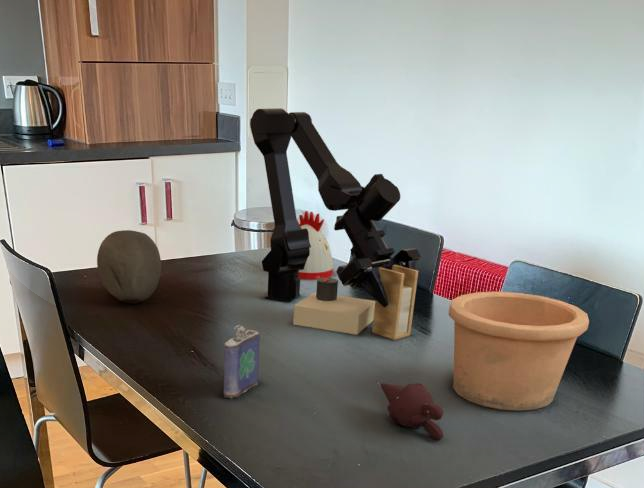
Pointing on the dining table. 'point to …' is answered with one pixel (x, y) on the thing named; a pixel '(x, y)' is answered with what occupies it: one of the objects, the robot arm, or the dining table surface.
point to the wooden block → (334, 314)
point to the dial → (327, 289)
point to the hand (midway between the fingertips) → (400, 303)
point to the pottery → (512, 347)
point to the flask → (241, 362)
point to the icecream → (413, 407)
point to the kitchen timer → (316, 250)
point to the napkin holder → (396, 303)
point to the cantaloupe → (129, 265)
